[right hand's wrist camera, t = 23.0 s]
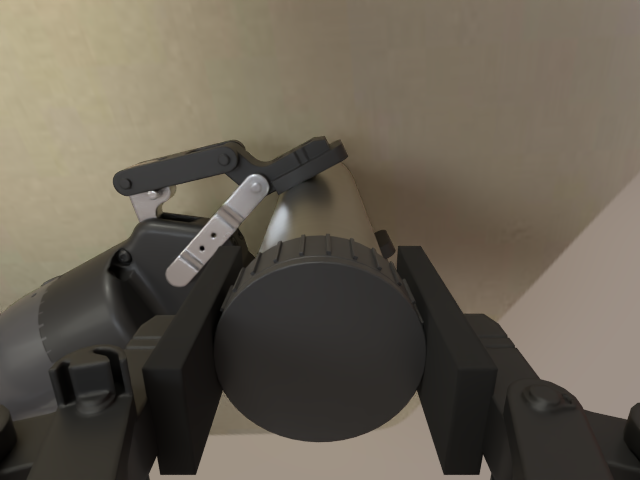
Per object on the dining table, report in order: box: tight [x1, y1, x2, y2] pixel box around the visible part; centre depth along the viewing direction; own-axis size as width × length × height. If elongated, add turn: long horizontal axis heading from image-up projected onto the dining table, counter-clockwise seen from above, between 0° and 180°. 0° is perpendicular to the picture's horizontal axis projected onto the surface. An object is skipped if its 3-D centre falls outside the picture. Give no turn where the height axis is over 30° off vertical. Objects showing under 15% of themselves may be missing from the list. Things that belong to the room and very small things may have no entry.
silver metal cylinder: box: [258, 162, 383, 257], centre depth 19 cm, size 5×5×16 cm
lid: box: [213, 234, 427, 442], centre depth 11 cm, size 6×6×2 cm
